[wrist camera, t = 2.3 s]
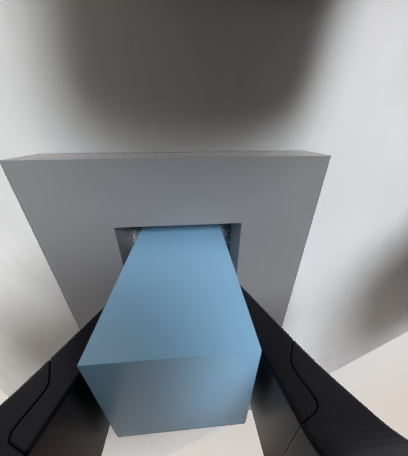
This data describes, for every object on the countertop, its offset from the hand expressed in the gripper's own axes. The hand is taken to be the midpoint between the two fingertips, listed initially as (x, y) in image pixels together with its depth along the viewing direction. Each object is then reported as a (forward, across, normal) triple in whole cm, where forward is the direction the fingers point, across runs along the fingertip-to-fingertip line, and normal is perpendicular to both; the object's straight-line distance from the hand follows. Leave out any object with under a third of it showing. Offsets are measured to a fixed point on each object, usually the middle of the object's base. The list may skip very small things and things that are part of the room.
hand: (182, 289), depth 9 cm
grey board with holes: (+3, 0, +6) cm, 6 cm away
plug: (+3, 0, 0) cm, 3 cm away
